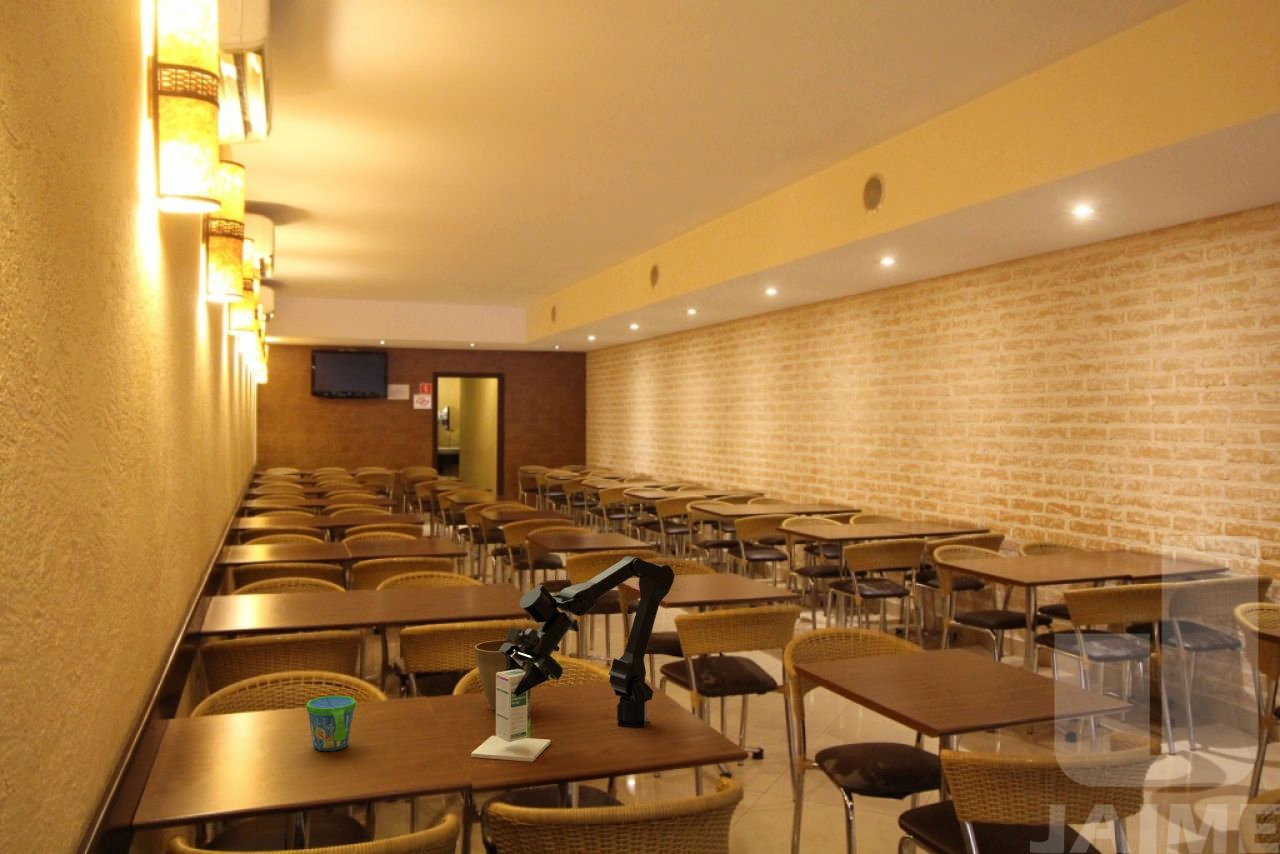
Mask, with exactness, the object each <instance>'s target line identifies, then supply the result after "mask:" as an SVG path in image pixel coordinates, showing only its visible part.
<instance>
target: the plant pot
mask: <svg viewBox="0 0 1280 854" xmlns="http://www.w3.org/2000/svg"><path fill="white" fill-rule="evenodd" d="M504 643H512V644H515V645H517V646H519V644H516V643H513V642H512V641H510V642H509V641H507V640H506V639H497V640H489V641H484V642H480V643H478V644H476V645H475V646H474V650H475V656H476V657H475V658H476V662H477V666H478V667H477V668H478V669H477V670H478V673H479V676H480V681H481V684H482V688H483V692H484V695H485V697H486V698H485V699H486V700H487V703H488V706H489V708H490V709H491V710H492V711H494V712H496V673H497V672H504V671H505V669H506V658H505V657H504V655H503V654H502V653H501V652H500V651H499V649H500V648H501V646H502V645H503V644H504ZM522 651H523V650H522ZM528 659H529V658H528ZM522 668H523V669H524V670H525V671H527V664H526V665H525V666H523V667H522Z"/></svg>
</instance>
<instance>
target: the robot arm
mask: <svg viewBox="0 0 1280 854" xmlns="http://www.w3.org/2000/svg"><path fill="white" fill-rule="evenodd" d="M632 577H637V578H639V579H638V589H639V594H640V597H639V601H638V604H637V608H636V612H635V615H634V619H633V622H632V626H631V629H630V632H629V636H628V640H627V643H626V645H625V649H624V652H623V655H621V657H620V658H619V659H618V658H613V660H612V662H611V663H612V664H611V669H610V671H609V672H608V676H609V683H610V686H611V688H612V689H613V691H614V694H615V696H617V697H619V702H618V703H617V706H616V707H617V709H616V711H617V712H616V715H617V717H616V720H617V726H620V727H621V726H622V727H635V728H644V727H645V726H646V725H647V723H648V722H649V717H648V701H652V699H653V695H654V690H653V689H652V688H651V687H650V686H649V685H648V684H647V683H646V677H647V676H646V674H647V670H646V663H645V657H646V654H647V649H648V647H649V646H648V645H649V644H650V643H649V642H650V638H651V635H652V631H653V629H654V625H655V620H656V618H657V614H658V610H659V607H660V605H661V602H662V600H663V599H665V597H667V595H668V594H669V592H670V590H671V588H672V586H673V583H674V582H675V581H674V580H675V572H674V570H673V568H672V567H671V566H669V565H667V564H661V563H655V562H649V561H646V560H643V559H641V558H640V557H636V556H631V555H627V556H624V557H623V558H622V559H621V560H620V561H618V562H617V563H615V564H613V565H612V566H610V567H609V568H607V569H605V570H603V572H601V573H599V574H597V575H596V576H594V577H593V578H591V579H589V580H588V581H585V582H582V583H581V582H580V583H576V584H573V585H570V586H568V587H564V588H563V589H562V590H561V591H560V592H559V593H557V594H553V595H552V594H551V593H550V592H549V591H548V589H547V588H546V587H545V585H542V584H537V585H536V586H535V587H534V588H532V589H530V590H529V591H527V592H526V593H524V594H523V595H522V597H521V598H520V600H519V607H521V608H522V610H523V611H524V612H526V614H528V616H529V617H531V619H532V620H533V621H534V622H535V623H536V624H537V623H538V624H540V623H541V625H540V626H539V628H538V629H533V628H530V627H529V628H527V629H526V630H522V629H519V628H515V627H513V626H510V628H509V631H508V634H507V636H506V639H505V640H507V641H509V642H510V641H512V642H513V643H516V644H519V646H517V645H515V644H512V643H504V644H503V645H502V646H501V648H500V649H499V651H500V652H501V653H502V654H503V655H504V657H505V658H506V669H505V671H509V670H515V669H521V670H524V669H523V668H522V667H523V666H525V665H526V664H527V671H526V673H525V675H524V676H523V678H522V680H521V681H520V683H519V685H518V686H517V688H516V690H515V692H514V694H515V695H516V696H519V695H521V694H522V693H524V692H526V691H528V690H529V689H531V690H532V689H534V688H535V687H536V686H538V685H541V684H543V683H545V682H547V681H551V679H553V680H555V681H559V680H560V679H561V678H562V676H563V675H564V668H563V667H562V665H560V663H558V662H557V660H555V658H553V656H552V653H553V652H559V650H560V649H561V647H559V645H560V643H561V642H562V640H563V639H564V638H565V636H566V634H567V633H568V632H569V631H572V632H576V633H577V632H579V626H578V619H576V618H572V617H570V616H569V615H568V614H570V615H574V616H578V617H583V616H584V615H586V614H588V613H589V612H590V611H591V610H592V609H593V608H594V607H595V606H596V605H597V602H598V600H599V599H600V598H601V597H603V596H605V595H606V594H607V593H609V592H610V591H612V590H613V589H615V588H616V587H619V586H620V585H621V584H623V583H624V582H626V581H628V580H629V579H631V578H632ZM559 610H560V611H559ZM522 650H523V651H522ZM528 658H529V659H528ZM524 671H525V670H524Z"/></svg>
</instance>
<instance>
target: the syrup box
mask: <svg viewBox="0 0 1280 854" xmlns="http://www.w3.org/2000/svg"><path fill="white" fill-rule="evenodd" d="M525 673H526V671H524V670H521V669H515V670H509V671H504V672H497V673H496V711H495V736H498V737H499V738H501V739H503V740H505V741H507V742H512V741H516V740H520V739H525V738H531V736H532V735H531V730H532V729H531V727H532V726H531V723H532V722H531V721H532V720H531V719H532V718H531V717H532V716H531V715H532V714H531V713H532V712H531V711H532V710H531V709H532V708H531V707H532V705H531V704H532V703H531V702H532V701H531V700H532V688H531V689H529V690H528V691H526V692H524V693H522V694H521V695H519V696H516V695H515V694H514V692H515V690H516V688H517V686H518V685H519V683H520V681H521V680H522V678H523V676H524V675H525Z"/></svg>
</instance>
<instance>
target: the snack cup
mask: <svg viewBox="0 0 1280 854" xmlns="http://www.w3.org/2000/svg"><path fill="white" fill-rule="evenodd" d="M356 702H357V701H356V699H355V698H354V697H350V696H345V695H328V696H319V697H316V698H313V699H311V700H308V701H307V703H306V705H305V707H306V711H307V713H308V719H309V726H310V732H311V741H312V745H313V748H315V749H316V750H318V751H324V752H333V751H338V750H339V751H340V750H343V749H344V748H346V747H348V745H349V742H350V741H349V740H350V737H351V729H352V724H353V718H354V717H353V715H354V711H355V709H356V707H357V703H356Z"/></svg>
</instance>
